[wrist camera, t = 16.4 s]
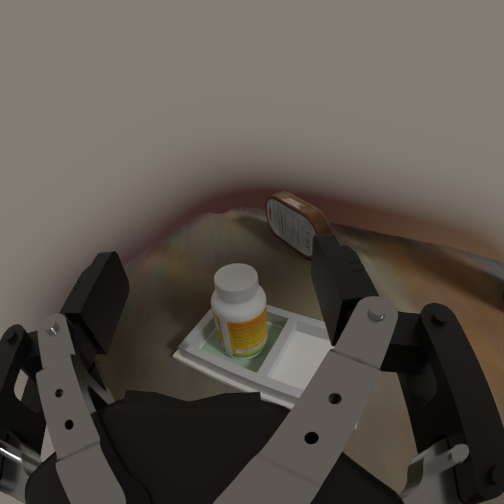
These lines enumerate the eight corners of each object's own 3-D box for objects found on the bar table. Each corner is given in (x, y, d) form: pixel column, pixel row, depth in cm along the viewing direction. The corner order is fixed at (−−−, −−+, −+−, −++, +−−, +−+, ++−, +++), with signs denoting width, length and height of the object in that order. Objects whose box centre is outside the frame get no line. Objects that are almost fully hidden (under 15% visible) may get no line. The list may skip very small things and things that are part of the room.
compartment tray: (223, 299, 38) (221, 286, 36) (378, 347, 29) (383, 334, 28) (173, 358, 30) (168, 346, 28) (354, 430, 21) (360, 421, 20)
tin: (331, 263, 43) (337, 215, 38) (316, 270, 42) (321, 221, 37) (276, 225, 54) (276, 184, 49) (263, 230, 53) (261, 188, 48)
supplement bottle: (276, 335, 31) (276, 268, 26) (250, 369, 28) (243, 305, 22) (237, 318, 34) (229, 252, 28) (210, 347, 30) (193, 282, 25)
